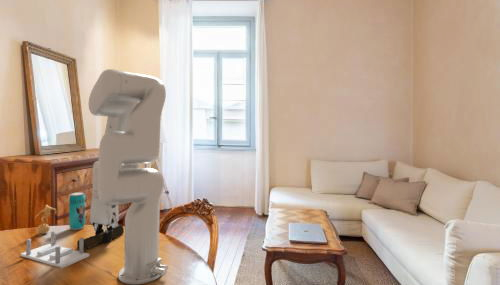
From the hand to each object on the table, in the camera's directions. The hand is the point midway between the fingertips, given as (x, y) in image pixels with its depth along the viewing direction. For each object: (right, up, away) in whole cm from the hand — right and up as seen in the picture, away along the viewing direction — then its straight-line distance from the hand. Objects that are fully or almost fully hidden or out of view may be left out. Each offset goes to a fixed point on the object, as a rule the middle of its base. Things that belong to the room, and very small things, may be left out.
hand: (103, 240), depth 107 cm
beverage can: (-18, 0, +13) cm, 23 cm away
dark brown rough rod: (-1, -1, 0) cm, 1 cm away
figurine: (-27, 0, +6) cm, 27 cm away
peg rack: (-9, -1, -13) cm, 16 cm away
